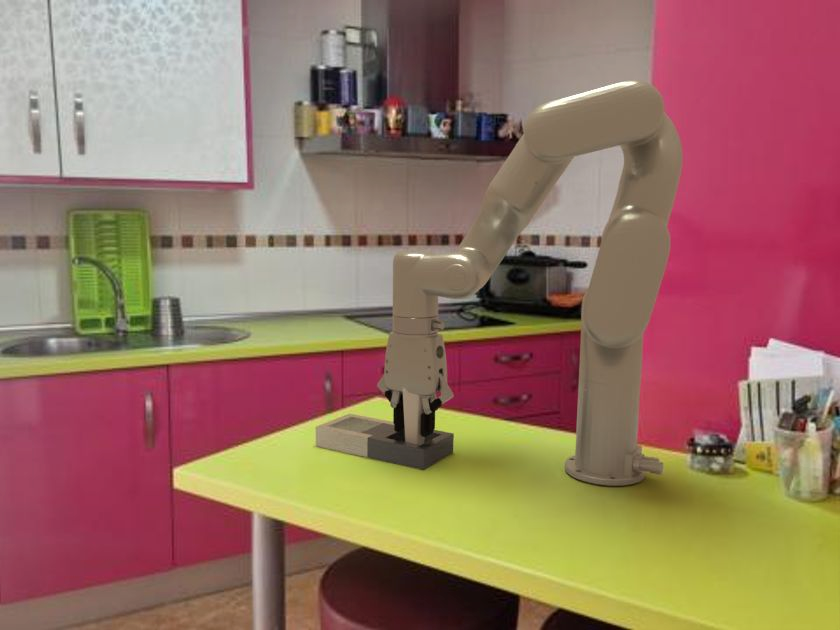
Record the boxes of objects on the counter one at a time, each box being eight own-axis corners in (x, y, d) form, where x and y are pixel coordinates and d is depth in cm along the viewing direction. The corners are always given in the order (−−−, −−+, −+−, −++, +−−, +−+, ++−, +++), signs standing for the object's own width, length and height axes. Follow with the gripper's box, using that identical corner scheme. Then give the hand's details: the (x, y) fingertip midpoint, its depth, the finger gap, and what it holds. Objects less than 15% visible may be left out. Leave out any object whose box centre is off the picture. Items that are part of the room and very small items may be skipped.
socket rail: (453, 453, 133) (453, 433, 132) (423, 470, 124) (423, 449, 124) (349, 431, 144) (349, 413, 143) (315, 446, 135) (315, 426, 135)
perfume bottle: (411, 449, 134) (413, 365, 132) (431, 455, 131) (433, 369, 129) (394, 456, 131) (395, 369, 128) (414, 462, 128) (415, 373, 126)
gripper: (471, 327, 126) (468, 435, 129) (384, 318, 135) (384, 419, 138) (449, 334, 120) (446, 447, 123) (360, 323, 129) (360, 429, 131)
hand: (413, 431), depth 130 cm, fingers closed on perfume bottle, 4 cm apart
